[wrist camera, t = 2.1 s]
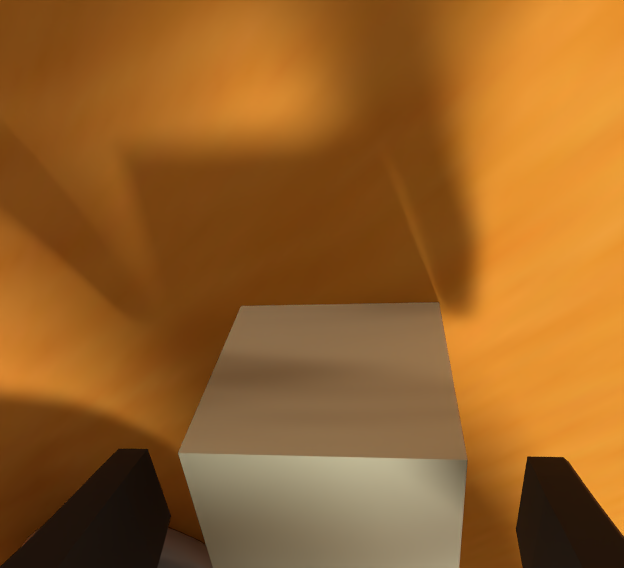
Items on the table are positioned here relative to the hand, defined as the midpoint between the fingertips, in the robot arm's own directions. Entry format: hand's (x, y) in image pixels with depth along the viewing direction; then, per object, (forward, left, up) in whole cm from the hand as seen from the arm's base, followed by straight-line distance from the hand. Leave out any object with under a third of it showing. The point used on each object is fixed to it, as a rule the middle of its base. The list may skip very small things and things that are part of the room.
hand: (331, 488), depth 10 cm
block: (0, 0, -3) cm, 3 cm away
